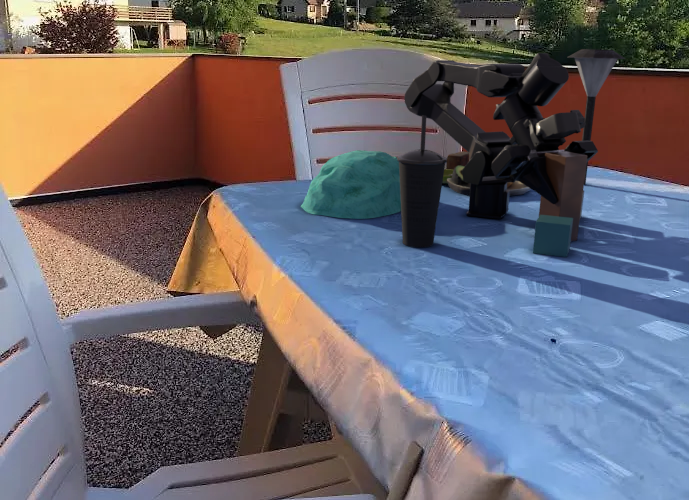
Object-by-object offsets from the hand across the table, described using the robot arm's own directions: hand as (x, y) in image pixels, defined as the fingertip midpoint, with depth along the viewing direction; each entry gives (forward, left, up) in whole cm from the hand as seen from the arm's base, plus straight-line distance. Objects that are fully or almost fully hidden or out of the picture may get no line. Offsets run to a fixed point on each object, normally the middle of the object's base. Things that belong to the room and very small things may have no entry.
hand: (567, 201), depth 114 cm
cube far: (-1, +17, -7) cm, 18 cm away
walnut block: (-1, +1, -7) cm, 7 cm away
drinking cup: (-21, -12, -7) cm, 25 cm away
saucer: (-29, +41, -6) cm, 51 cm away
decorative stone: (-40, +12, -7) cm, 42 cm away
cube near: (-1, -7, -7) cm, 10 cm away
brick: (-30, +57, -7) cm, 65 cm away
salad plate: (-20, +37, -7) cm, 42 cm away
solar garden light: (-1, +54, -7) cm, 54 cm away
